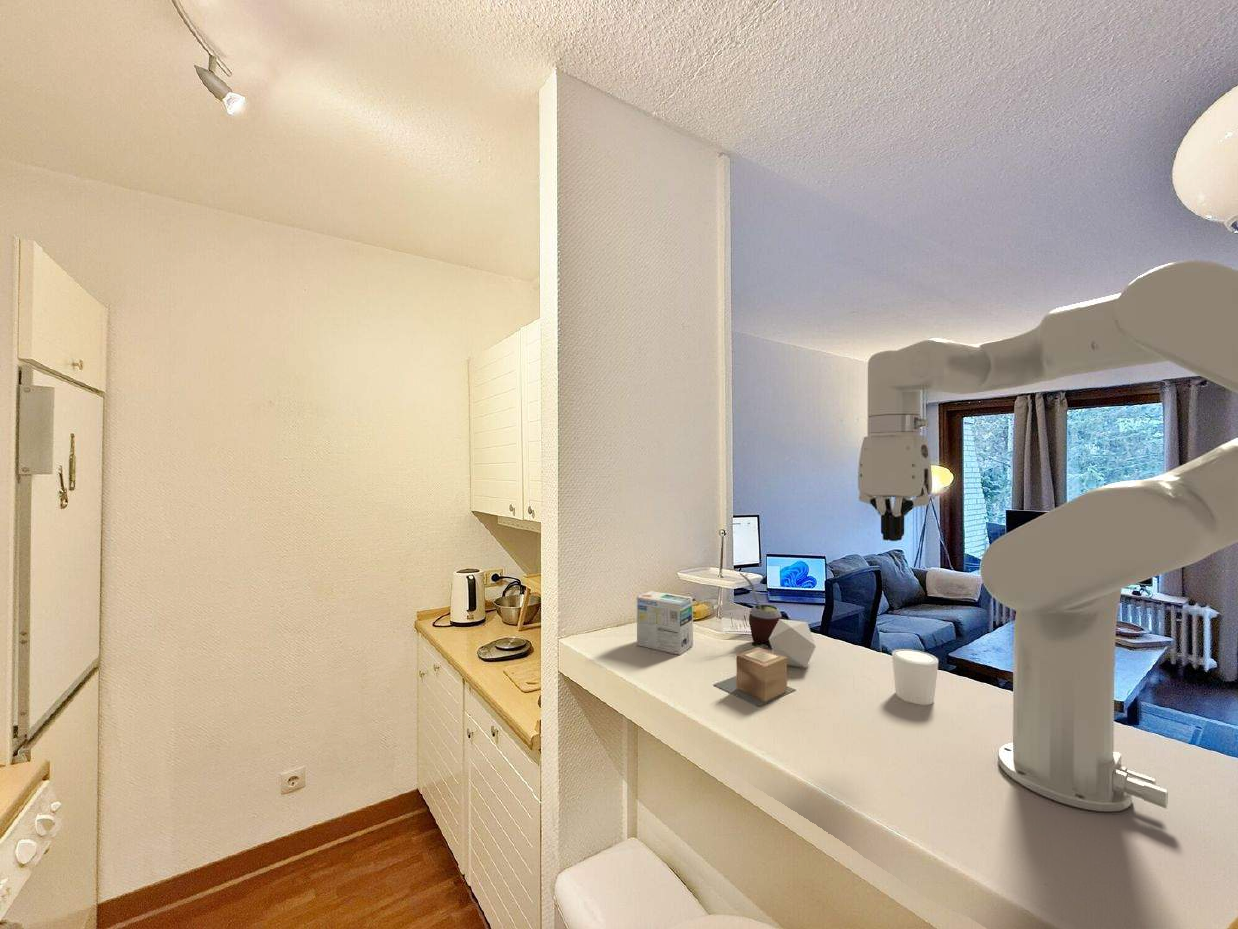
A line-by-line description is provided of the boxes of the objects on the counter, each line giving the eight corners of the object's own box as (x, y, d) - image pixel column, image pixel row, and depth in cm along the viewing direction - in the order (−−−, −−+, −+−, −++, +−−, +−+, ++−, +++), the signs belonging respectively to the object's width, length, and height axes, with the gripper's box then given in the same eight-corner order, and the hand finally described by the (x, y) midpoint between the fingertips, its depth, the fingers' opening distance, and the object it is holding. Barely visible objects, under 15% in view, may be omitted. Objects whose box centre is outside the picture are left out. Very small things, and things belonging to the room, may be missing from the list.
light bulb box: (694, 646, 110) (694, 596, 109) (680, 656, 104) (680, 603, 104) (650, 636, 115) (650, 589, 115) (635, 646, 109) (635, 596, 109)
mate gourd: (788, 648, 108) (789, 578, 108) (755, 651, 106) (755, 580, 106) (770, 636, 115) (770, 570, 115) (738, 639, 113) (738, 572, 113)
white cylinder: (943, 709, 82) (943, 666, 82) (895, 703, 84) (895, 660, 84) (932, 691, 88) (932, 651, 88) (888, 685, 90) (888, 646, 90)
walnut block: (758, 646, 92) (758, 679, 92) (736, 654, 88) (736, 689, 88) (786, 657, 87) (786, 692, 87) (765, 666, 84) (765, 702, 84)
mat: (795, 690, 88) (795, 689, 88) (759, 707, 82) (759, 706, 82) (749, 671, 96) (749, 670, 96) (713, 685, 90) (713, 684, 90)
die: (819, 662, 102) (793, 615, 107) (831, 655, 94) (803, 605, 99) (781, 679, 101) (757, 631, 106) (791, 674, 94) (764, 622, 98)
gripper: (953, 426, 79) (953, 543, 79) (859, 430, 91) (859, 532, 91) (933, 424, 75) (932, 548, 75) (837, 429, 86) (836, 536, 87)
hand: (892, 539), depth 83 cm, fingers closed
